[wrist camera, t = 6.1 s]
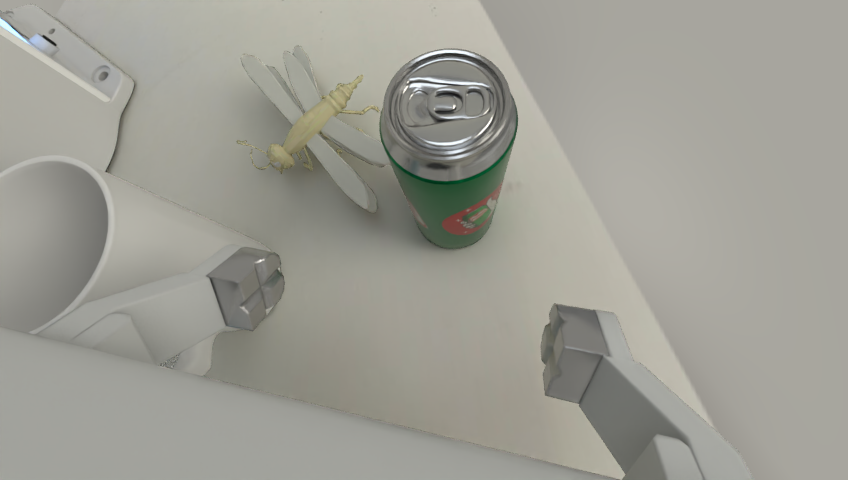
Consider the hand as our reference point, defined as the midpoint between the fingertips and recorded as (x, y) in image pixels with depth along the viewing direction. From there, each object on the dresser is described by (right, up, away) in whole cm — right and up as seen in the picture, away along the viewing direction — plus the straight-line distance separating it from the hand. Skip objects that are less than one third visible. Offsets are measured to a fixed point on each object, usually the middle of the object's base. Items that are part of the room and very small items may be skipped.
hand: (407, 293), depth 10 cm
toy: (-6, +8, +15) cm, 19 cm away
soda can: (+3, +3, +13) cm, 14 cm away
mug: (-12, -3, +13) cm, 18 cm away
